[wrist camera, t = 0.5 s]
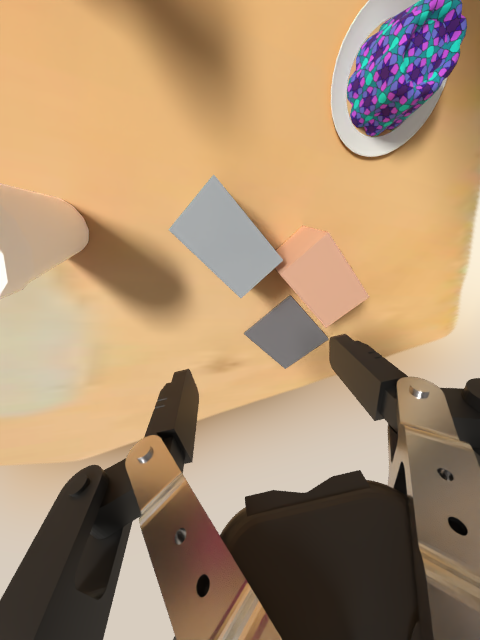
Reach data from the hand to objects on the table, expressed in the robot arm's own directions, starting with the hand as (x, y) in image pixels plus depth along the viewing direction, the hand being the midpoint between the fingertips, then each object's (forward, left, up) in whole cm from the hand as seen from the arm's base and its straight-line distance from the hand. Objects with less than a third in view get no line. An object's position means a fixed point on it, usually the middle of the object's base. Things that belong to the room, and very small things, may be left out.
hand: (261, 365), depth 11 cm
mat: (+2, +15, -20) cm, 25 cm away
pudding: (-24, -3, -21) cm, 32 cm away
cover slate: (-2, -4, -20) cm, 21 cm away
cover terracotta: (-7, +7, -20) cm, 22 cm away
